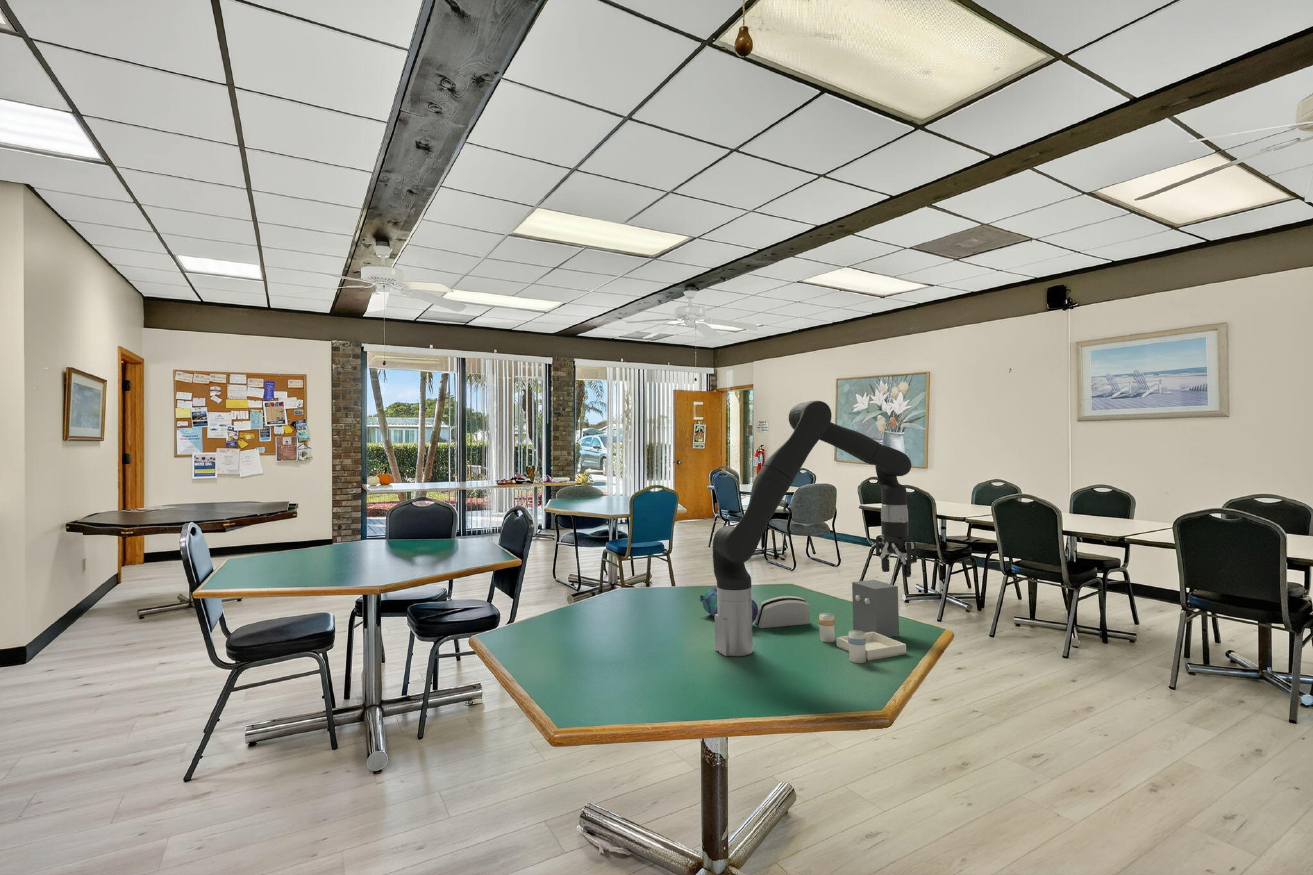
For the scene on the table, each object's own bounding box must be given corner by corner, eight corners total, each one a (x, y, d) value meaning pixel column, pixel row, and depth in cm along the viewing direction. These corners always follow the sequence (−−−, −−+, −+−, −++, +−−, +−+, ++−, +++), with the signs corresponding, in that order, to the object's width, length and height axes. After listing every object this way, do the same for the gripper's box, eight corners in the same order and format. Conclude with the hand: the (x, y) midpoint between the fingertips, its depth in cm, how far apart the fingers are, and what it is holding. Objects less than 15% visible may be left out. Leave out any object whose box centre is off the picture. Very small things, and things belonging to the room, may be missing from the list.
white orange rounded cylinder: (825, 643, 170) (824, 617, 170) (816, 638, 174) (815, 614, 174) (838, 641, 171) (837, 616, 171) (828, 636, 175) (828, 612, 175)
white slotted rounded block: (802, 619, 194) (807, 591, 191) (809, 628, 190) (814, 600, 186) (753, 623, 190) (756, 595, 187) (759, 632, 186) (762, 604, 183)
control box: (874, 639, 172) (873, 589, 172) (851, 629, 182) (850, 582, 182) (900, 635, 175) (899, 586, 176) (876, 626, 185) (874, 579, 185)
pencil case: (699, 615, 201) (698, 586, 201) (721, 611, 205) (721, 582, 205) (737, 631, 183) (736, 598, 183) (760, 626, 187) (760, 595, 187)
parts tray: (867, 660, 155) (867, 650, 155) (836, 646, 167) (836, 637, 167) (906, 654, 159) (906, 644, 160) (873, 640, 171) (873, 631, 171)
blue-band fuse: (856, 664, 153) (855, 635, 153) (845, 658, 157) (844, 631, 157) (870, 661, 154) (869, 633, 154) (859, 656, 158) (858, 629, 158)
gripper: (868, 518, 187) (869, 571, 187) (902, 522, 174) (903, 580, 174) (887, 516, 190) (889, 569, 190) (922, 521, 177) (924, 577, 176)
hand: (896, 574), depth 182 cm, fingers open, 8 cm apart
